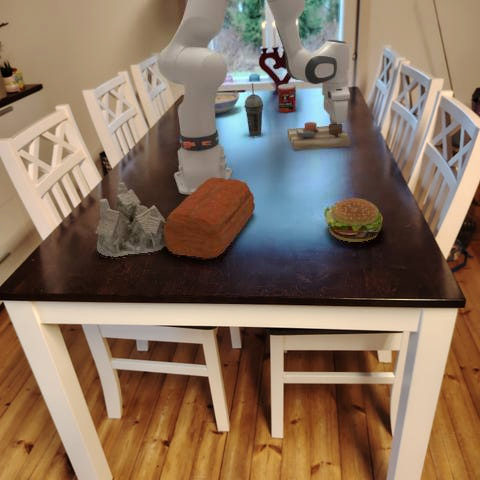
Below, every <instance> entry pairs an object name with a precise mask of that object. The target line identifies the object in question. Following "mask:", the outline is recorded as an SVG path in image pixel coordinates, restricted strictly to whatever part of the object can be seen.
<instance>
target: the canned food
mask: <svg viewBox="0 0 480 480" xmlns="http://www.w3.org/2000/svg"><path fill="white" fill-rule="evenodd" d="M277 95H278V96H277V98H278V99H277V101H278V104H277V105H278V111H279V113H282V114H290V113H294V112H295V111H296V110H297V109H296V107H297V106H296V102H297V99H296V95H297V92H296V85H295V84H293V83H283V84H280V85H278V87H277Z"/></svg>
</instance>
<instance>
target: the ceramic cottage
mask: <svg viewBox="0 0 480 480" xmlns="http://www.w3.org/2000/svg"><path fill="white" fill-rule="evenodd" d="M118 185H119V187H118V188H117V189H118V191H117V192H118V195H116V199H115V204H114V208H115V209H116V210H115V209H111V207H110V203H109V201H108V199H106V198H101V199H100V200H99V212H100V213H99V214H100V218H99V220H98V221H99V222H98V225H97V227H96V230H95V232H94V233H95V234H98V237H97V242H96V243H97V244H96V252H97V251H98V252H99V253H101V254H102V255H105V256H111V257H112V256H113V257H118V256H124V255H128V254H139V253H148V252H154V251H158V250H161V249H162V248H163V247H165V246H166V243H165V241H166V240H165V235H164V226H165V225H166V222H167V221H166V219H165V218H164V216H163V215H162V213H160V211H159V209H158V208H157V207H156V206H155V204H153V205H152V206H151V207H150V208H148V207H147V206H146V205H145V206H144V205H141V200H139V197H138V196H137V195H136V193H135V191H133V189H129V190H128V188H127V186H126V185H125V182H119V183H118ZM165 248H166V247H165Z"/></svg>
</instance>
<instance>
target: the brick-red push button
mask: <svg viewBox="0 0 480 480" xmlns="http://www.w3.org/2000/svg"><path fill="white" fill-rule="evenodd" d="M316 127H318V126H317V122H313V121H311V122H310V121H309V122H305V123H304V128H305V130H311V131H314V132H315V131H316Z"/></svg>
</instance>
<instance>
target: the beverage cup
mask: <svg viewBox="0 0 480 480" xmlns="http://www.w3.org/2000/svg"><path fill="white" fill-rule="evenodd" d="M251 89H252V92H251V93H252V94H250V95H248V96H247V97H246V99H245V101H244V109H245V110H244V111H245V112H246V119H247V125H248V126H247V127H248V132H249V136H250V137H252V136H253V138H254V137H255V136H257V137H261V135H262V122H263V121H262V119H263V109H264V101H263V100H262V97H260V96H259V95H258V94H255V91H254V83H253V82H252V83H251Z"/></svg>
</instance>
